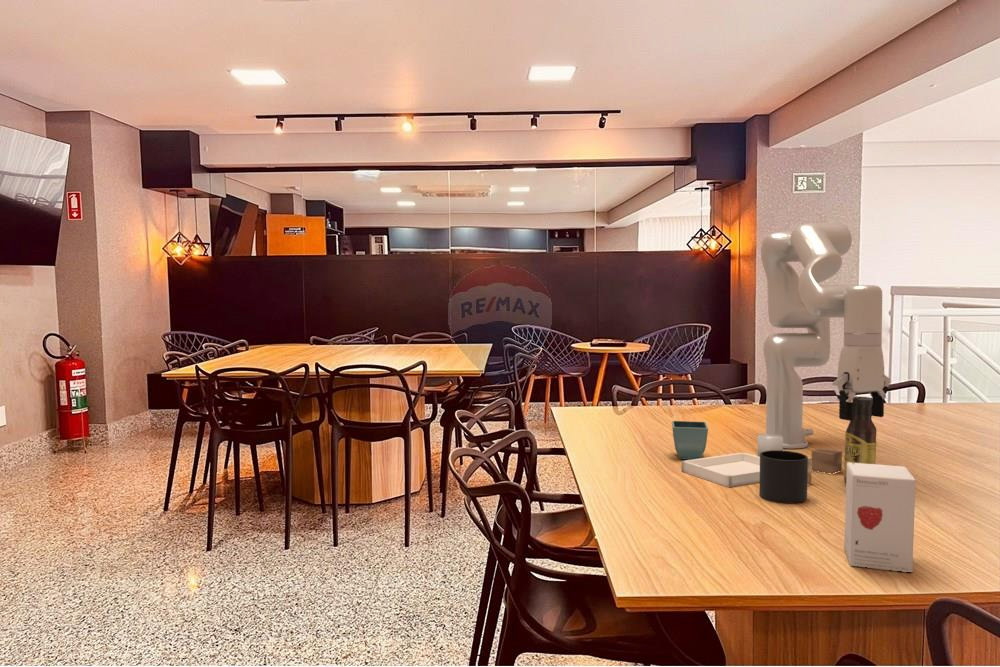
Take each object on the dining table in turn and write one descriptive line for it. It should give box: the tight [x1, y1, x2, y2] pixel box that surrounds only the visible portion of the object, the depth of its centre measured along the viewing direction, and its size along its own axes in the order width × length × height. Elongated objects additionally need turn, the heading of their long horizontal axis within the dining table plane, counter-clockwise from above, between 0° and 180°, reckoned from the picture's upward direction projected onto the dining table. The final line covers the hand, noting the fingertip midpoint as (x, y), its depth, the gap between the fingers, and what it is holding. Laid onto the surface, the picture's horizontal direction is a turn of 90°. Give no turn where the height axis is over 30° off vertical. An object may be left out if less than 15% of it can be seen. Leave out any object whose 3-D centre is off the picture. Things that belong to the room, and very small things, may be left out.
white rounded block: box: [756, 433, 784, 457], centre depth 178 cm, size 6×6×7 cm
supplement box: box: [843, 462, 916, 573], centre depth 114 cm, size 9×9×15 cm
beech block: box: [807, 456, 812, 485], centre depth 160 cm, size 4×4×6 cm
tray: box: [680, 452, 760, 488], centre depth 168 cm, size 20×16×2 cm
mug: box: [758, 450, 809, 504], centre depth 150 cm, size 9×12×9 cm
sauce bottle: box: [843, 396, 877, 485], centre depth 157 cm, size 7×6×20 cm
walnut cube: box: [811, 447, 843, 474], centre depth 170 cm, size 5×5×5 cm
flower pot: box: [671, 420, 709, 460], centre depth 185 cm, size 9×9×9 cm
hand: (861, 417), depth 156 cm, fingers open, 9 cm apart
